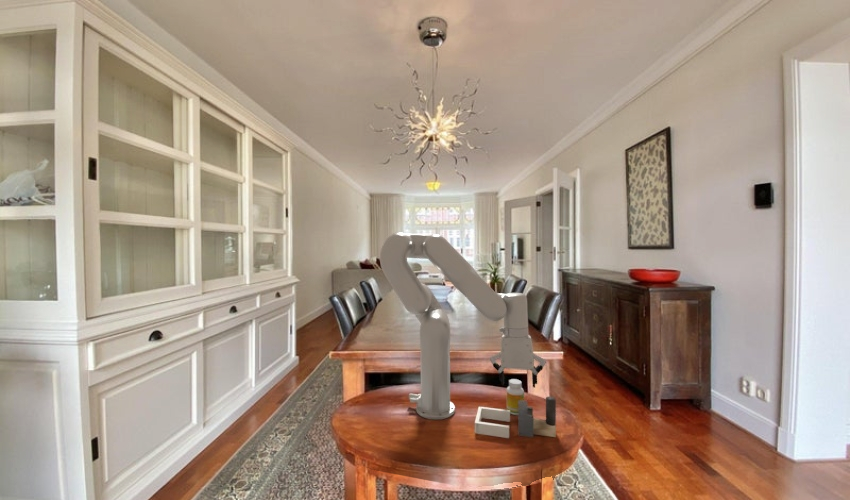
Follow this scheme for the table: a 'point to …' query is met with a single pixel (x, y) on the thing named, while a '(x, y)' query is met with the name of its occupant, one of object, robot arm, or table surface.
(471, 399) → the table surface
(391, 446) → the table surface
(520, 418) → the guide block
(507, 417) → the frame
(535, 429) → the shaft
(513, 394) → the supplement bottle
